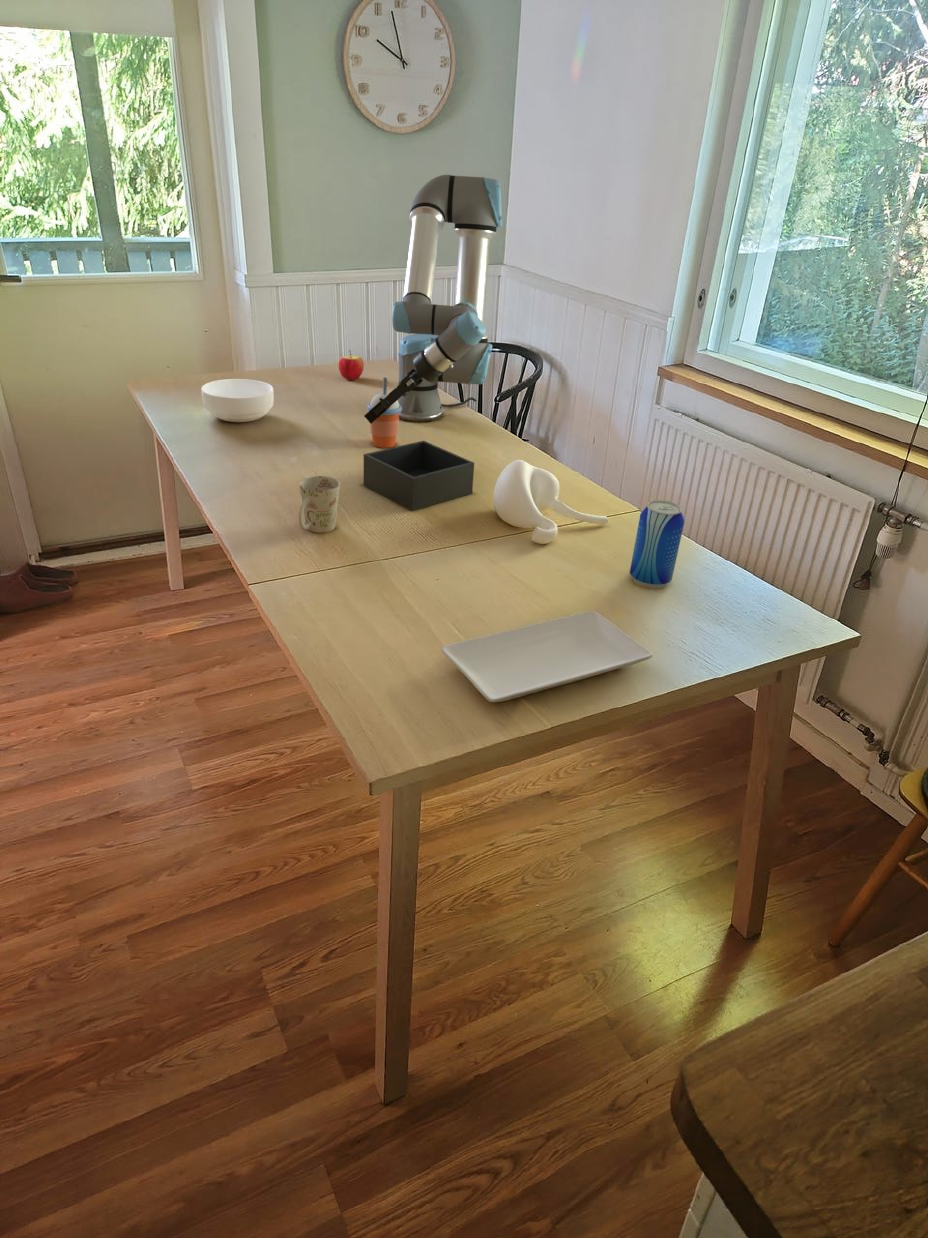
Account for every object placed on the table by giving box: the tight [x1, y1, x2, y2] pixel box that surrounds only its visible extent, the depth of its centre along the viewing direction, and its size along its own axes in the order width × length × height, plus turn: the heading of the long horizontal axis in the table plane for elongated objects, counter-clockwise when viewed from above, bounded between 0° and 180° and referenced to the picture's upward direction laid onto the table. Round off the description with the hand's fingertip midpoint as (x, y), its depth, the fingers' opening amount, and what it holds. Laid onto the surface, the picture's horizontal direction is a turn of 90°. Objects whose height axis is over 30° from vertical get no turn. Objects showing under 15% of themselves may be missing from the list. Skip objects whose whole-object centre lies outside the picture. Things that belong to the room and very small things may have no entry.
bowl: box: [200, 378, 275, 423], centre depth 238 cm, size 20×20×8 cm
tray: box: [441, 610, 653, 703], centre depth 137 cm, size 17×32×4 cm, turn 119°
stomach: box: [493, 459, 609, 545], centre depth 188 cm, size 23×13×24 cm
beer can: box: [629, 499, 685, 590], centre depth 164 cm, size 8×8×16 cm
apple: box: [337, 349, 365, 381], centre depth 280 cm, size 8×8×10 cm
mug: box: [298, 475, 341, 534], centre depth 175 cm, size 8×13×10 cm, turn 161°
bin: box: [363, 440, 475, 511], centre depth 200 cm, size 19×19×8 cm
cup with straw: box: [366, 377, 402, 449], centre depth 223 cm, size 9×9×18 cm
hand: (374, 413), depth 224 cm, fingers open, 11 cm apart
